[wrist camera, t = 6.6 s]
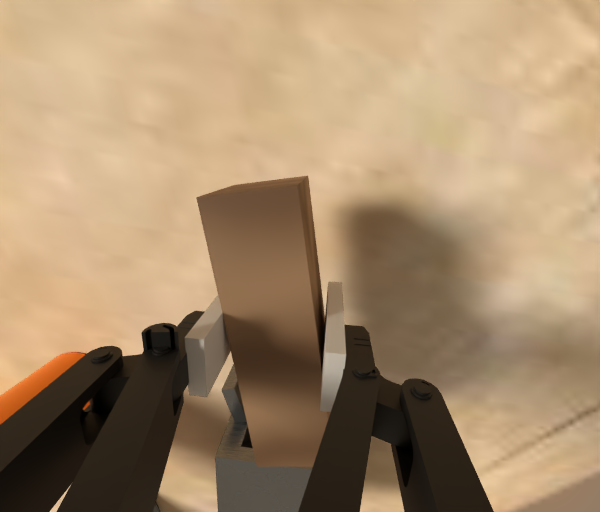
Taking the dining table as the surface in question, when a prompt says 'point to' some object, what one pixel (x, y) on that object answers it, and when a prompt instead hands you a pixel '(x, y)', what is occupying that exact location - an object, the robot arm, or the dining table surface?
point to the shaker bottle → (35, 384)
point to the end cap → (252, 468)
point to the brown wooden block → (271, 312)
